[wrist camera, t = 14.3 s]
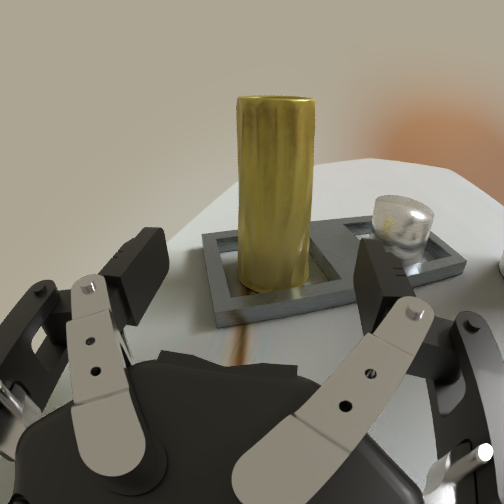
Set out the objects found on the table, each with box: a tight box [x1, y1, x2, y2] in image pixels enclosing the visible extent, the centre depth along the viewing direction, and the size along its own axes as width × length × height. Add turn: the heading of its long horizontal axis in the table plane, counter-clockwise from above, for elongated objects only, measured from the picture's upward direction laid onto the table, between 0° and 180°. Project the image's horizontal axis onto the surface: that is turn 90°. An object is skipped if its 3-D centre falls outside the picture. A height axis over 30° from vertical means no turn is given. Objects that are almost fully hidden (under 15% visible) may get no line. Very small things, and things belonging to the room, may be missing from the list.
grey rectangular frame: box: [202, 195, 467, 328], centre depth 26 cm, size 24×11×5 cm, turn 103°
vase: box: [236, 96, 315, 293], centre depth 22 cm, size 6×6×14 cm
